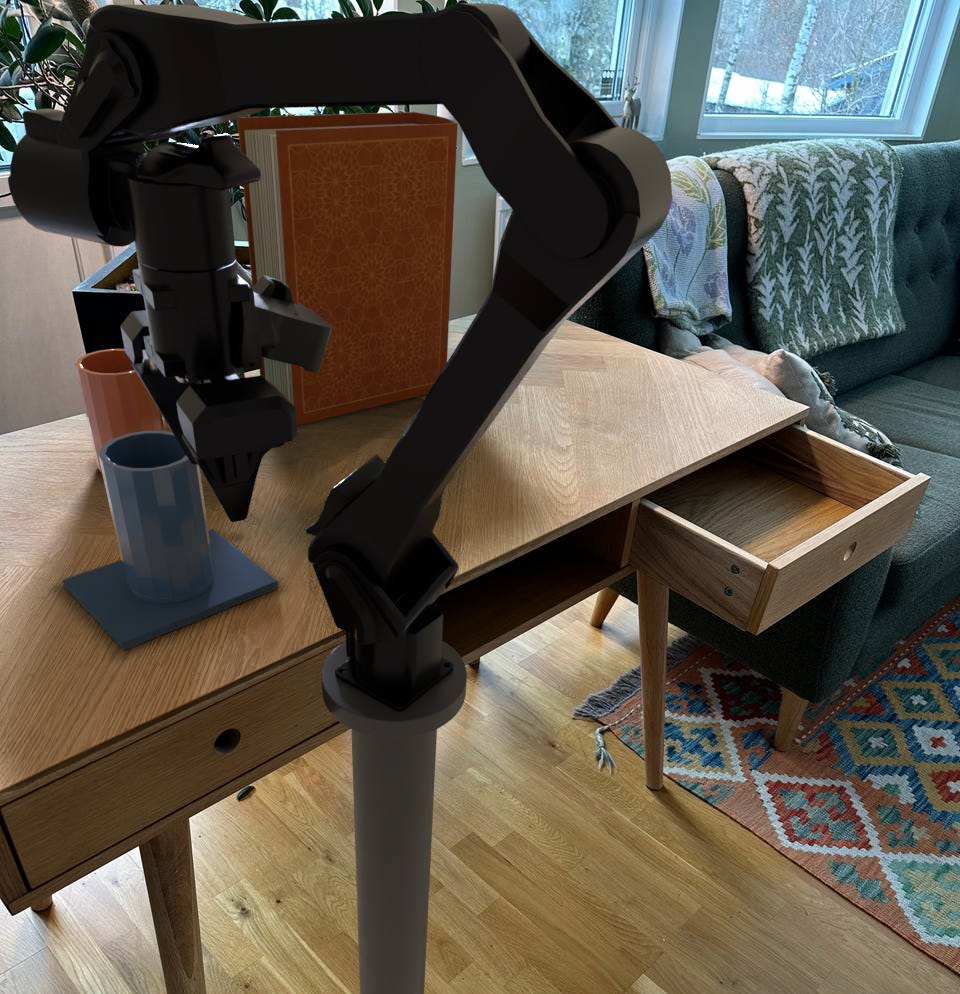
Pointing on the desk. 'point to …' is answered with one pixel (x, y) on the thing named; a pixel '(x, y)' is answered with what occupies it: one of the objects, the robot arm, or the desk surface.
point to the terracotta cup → (114, 398)
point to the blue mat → (145, 621)
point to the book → (356, 248)
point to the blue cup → (158, 516)
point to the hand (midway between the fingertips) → (217, 490)
